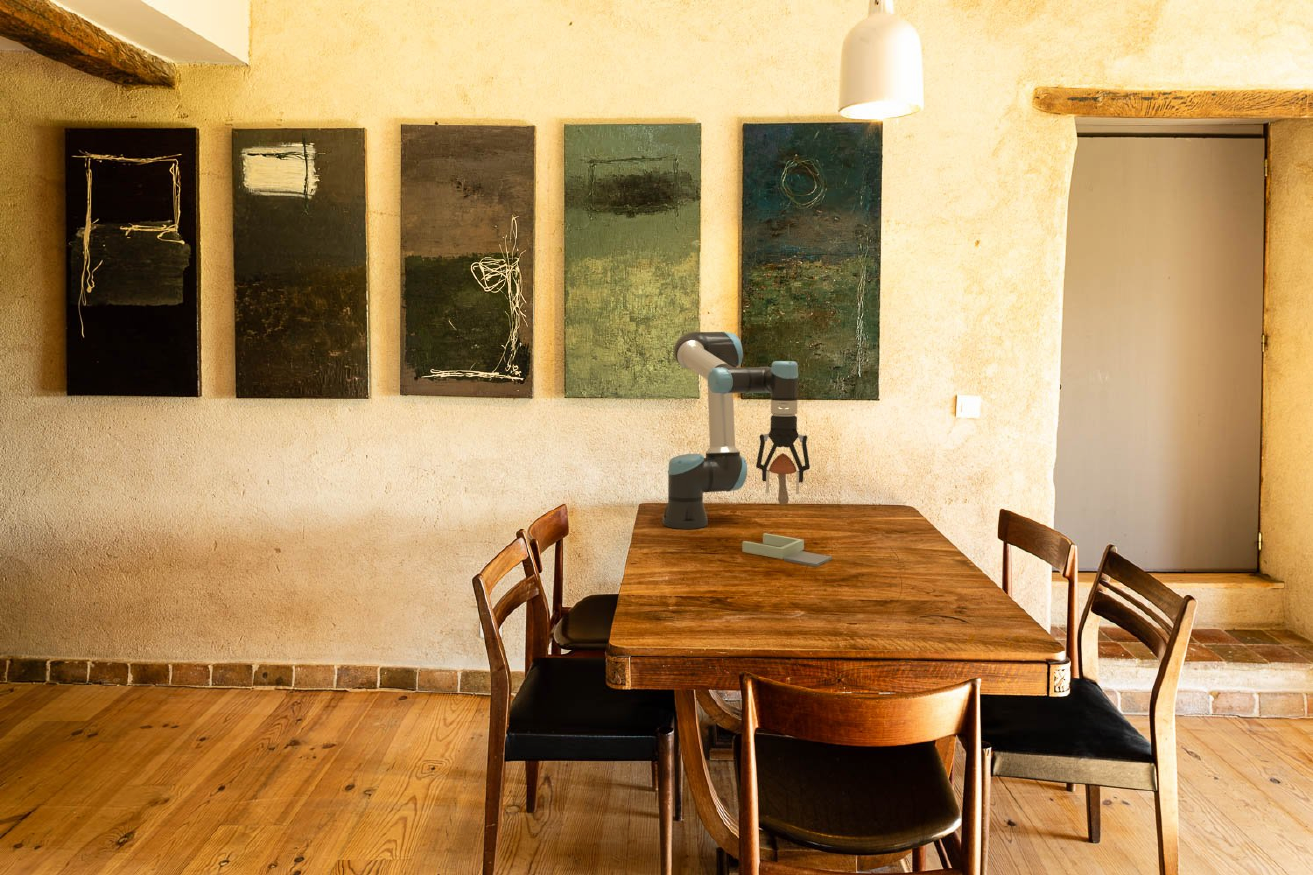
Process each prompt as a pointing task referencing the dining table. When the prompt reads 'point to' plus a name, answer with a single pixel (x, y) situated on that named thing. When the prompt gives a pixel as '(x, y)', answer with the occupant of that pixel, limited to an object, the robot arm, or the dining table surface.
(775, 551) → the cream u-shaped piece
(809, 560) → the coaster
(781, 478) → the mushroom
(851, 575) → the dining table surface
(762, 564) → the dining table surface
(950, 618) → the dining table surface
